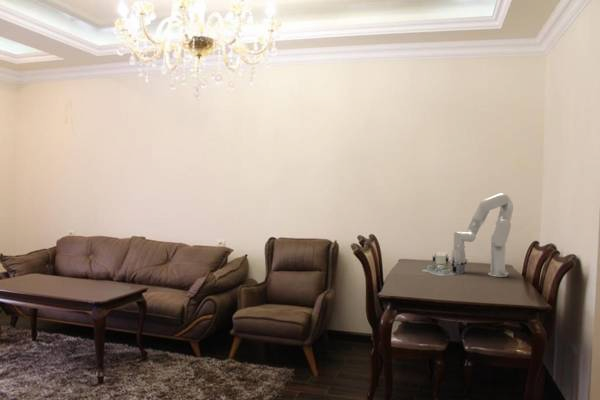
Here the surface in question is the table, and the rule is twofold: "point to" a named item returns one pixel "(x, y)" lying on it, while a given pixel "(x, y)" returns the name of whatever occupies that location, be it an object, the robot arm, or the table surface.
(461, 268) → the hub
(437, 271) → the seat
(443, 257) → the pneumatic valve
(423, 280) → the table surface
